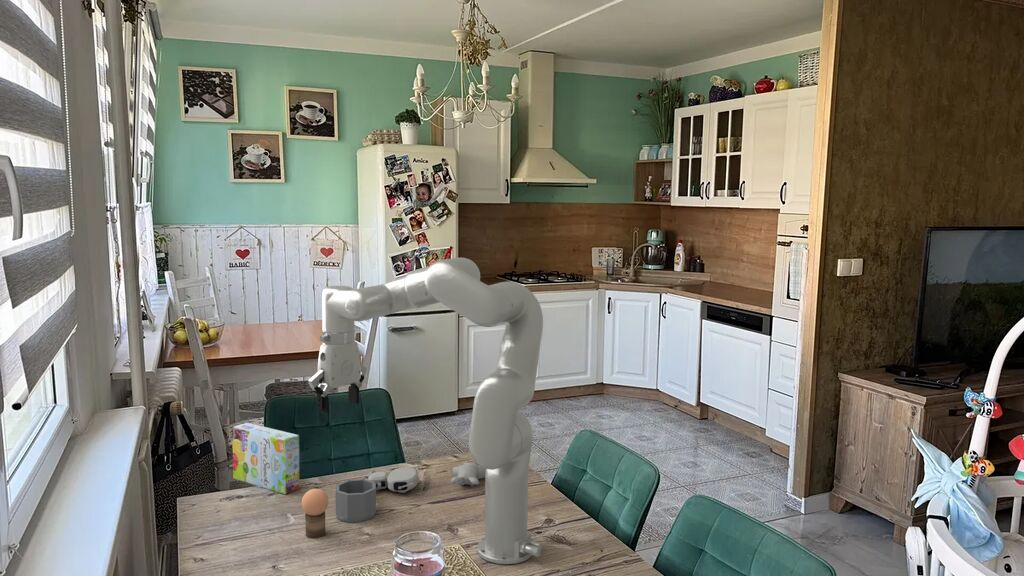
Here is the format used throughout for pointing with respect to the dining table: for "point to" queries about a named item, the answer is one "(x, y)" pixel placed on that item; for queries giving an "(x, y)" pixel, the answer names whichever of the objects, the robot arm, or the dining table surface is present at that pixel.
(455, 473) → the bunny figurine
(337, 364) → the robot arm
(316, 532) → the stand
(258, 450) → the snack box
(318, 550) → the dining table surface
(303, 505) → the ball
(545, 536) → the dining table surface
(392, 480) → the robot toy
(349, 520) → the grey octagonal pot
